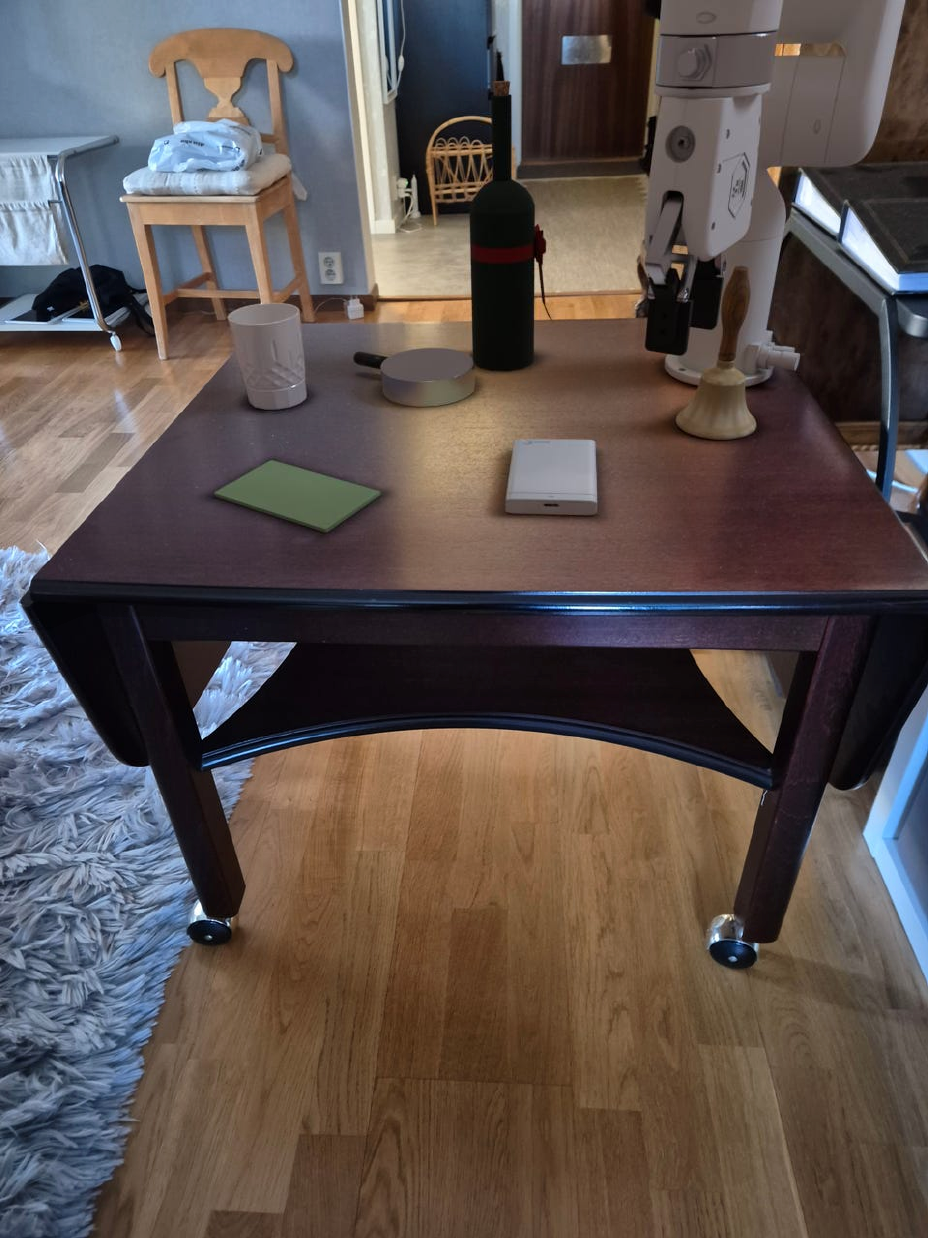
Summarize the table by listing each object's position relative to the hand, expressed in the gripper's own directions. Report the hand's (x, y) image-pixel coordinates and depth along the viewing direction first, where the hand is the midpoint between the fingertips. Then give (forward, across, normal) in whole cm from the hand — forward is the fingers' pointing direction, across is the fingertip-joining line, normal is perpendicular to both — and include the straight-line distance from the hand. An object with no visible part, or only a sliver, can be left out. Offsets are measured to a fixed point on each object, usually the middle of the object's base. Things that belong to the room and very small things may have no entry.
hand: (681, 336), depth 66 cm
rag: (+16, -14, +31) cm, 37 cm away
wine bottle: (+16, +27, +31) cm, 44 cm away
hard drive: (+16, 0, +11) cm, 19 cm away
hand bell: (+16, +20, +2) cm, 26 cm away
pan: (+16, +14, +38) cm, 43 cm away
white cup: (+16, +3, +49) cm, 52 cm away
